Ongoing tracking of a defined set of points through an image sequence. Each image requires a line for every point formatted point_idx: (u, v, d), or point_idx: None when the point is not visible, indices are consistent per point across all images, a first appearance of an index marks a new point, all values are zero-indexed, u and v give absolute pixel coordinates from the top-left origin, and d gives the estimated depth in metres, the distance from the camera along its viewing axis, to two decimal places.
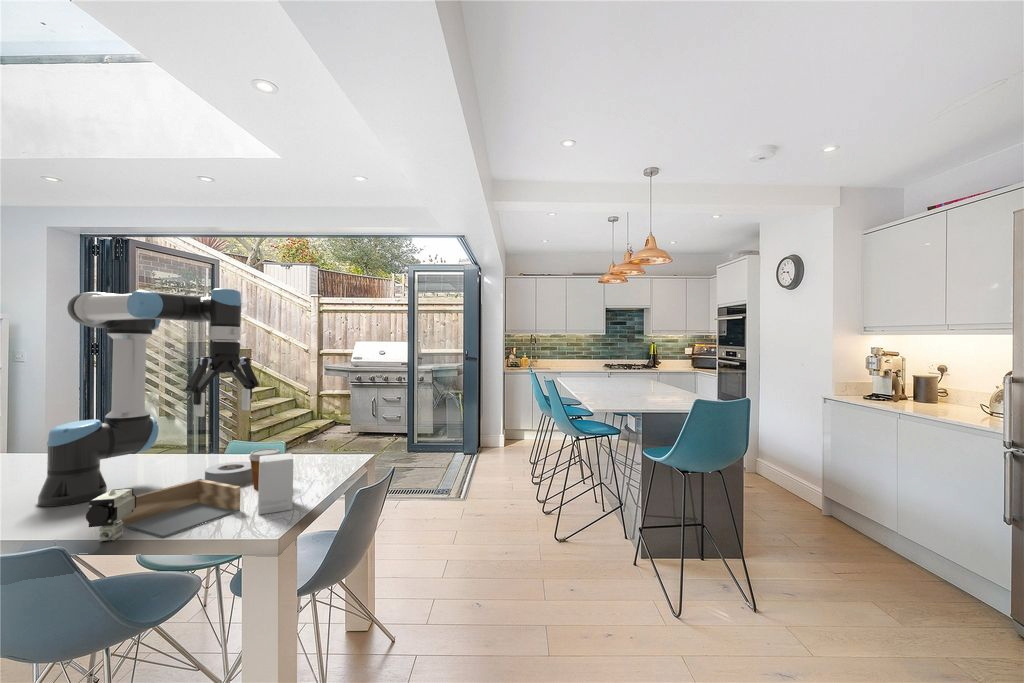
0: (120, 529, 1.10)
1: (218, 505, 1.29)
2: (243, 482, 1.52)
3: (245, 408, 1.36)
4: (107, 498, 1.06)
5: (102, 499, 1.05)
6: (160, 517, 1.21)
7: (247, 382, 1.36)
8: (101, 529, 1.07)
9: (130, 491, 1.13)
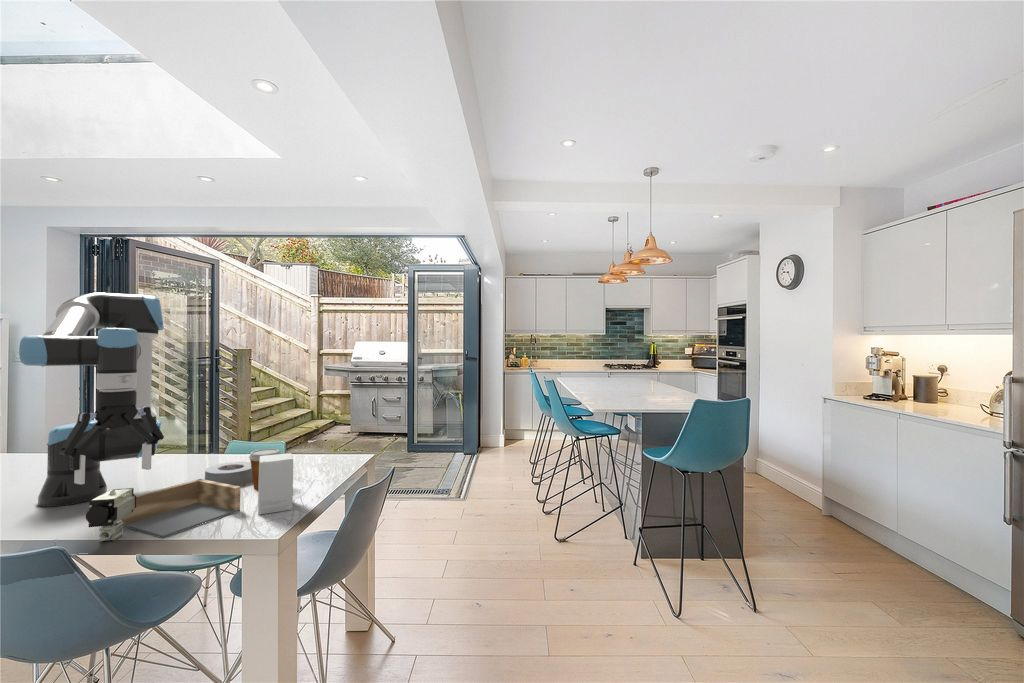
0: (120, 529, 1.10)
1: (218, 505, 1.29)
2: (243, 482, 1.52)
3: (145, 467, 1.15)
4: (107, 498, 1.06)
5: (102, 499, 1.05)
6: (160, 517, 1.21)
7: (147, 436, 1.15)
8: (101, 529, 1.07)
9: (130, 491, 1.13)
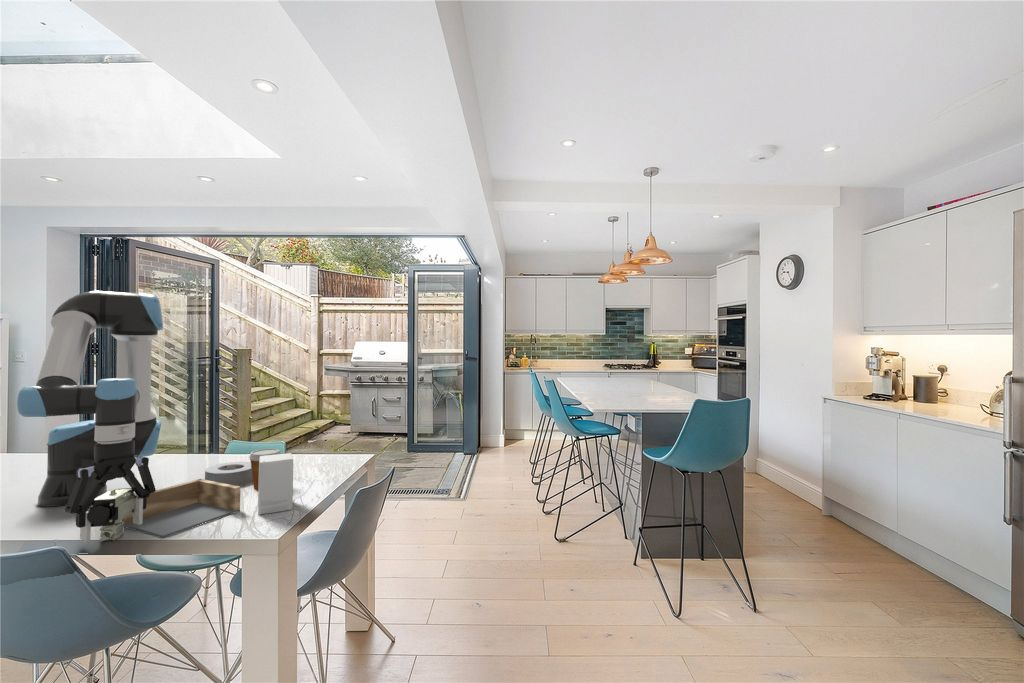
0: (121, 529, 1.10)
1: (218, 505, 1.29)
2: (243, 482, 1.52)
3: (136, 522, 1.13)
4: (108, 498, 1.06)
5: (103, 499, 1.06)
6: (160, 517, 1.21)
7: (140, 489, 1.13)
8: (102, 529, 1.07)
9: (130, 491, 1.13)
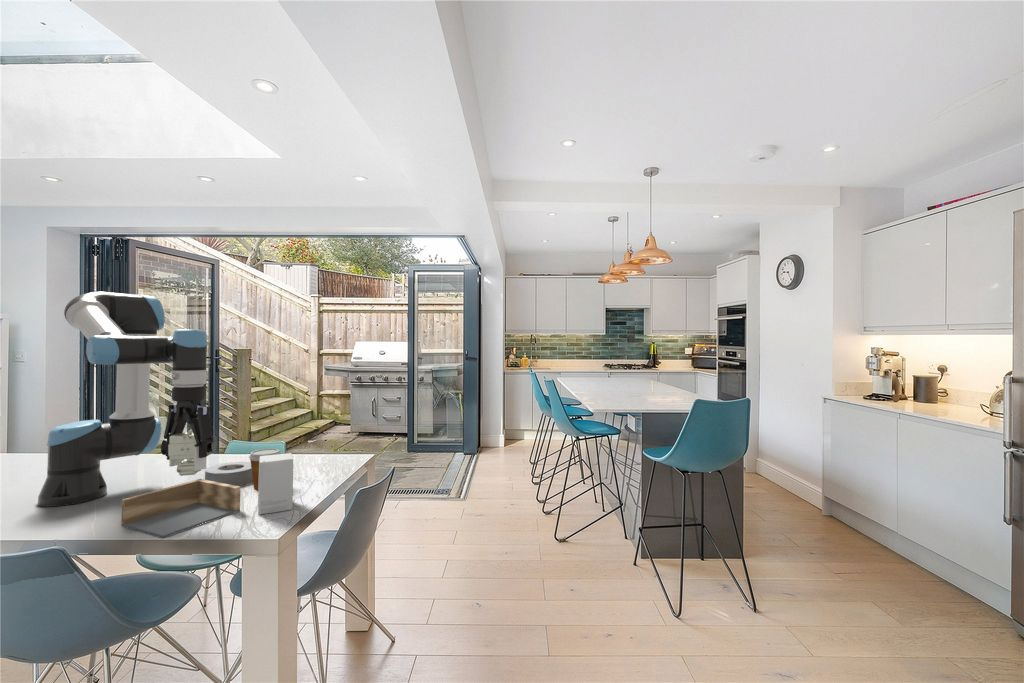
0: (190, 468, 1.19)
1: (218, 505, 1.29)
2: (243, 482, 1.52)
3: None
4: (174, 435, 1.19)
5: (173, 434, 1.20)
6: (160, 517, 1.21)
7: (195, 437, 1.17)
8: None
9: None
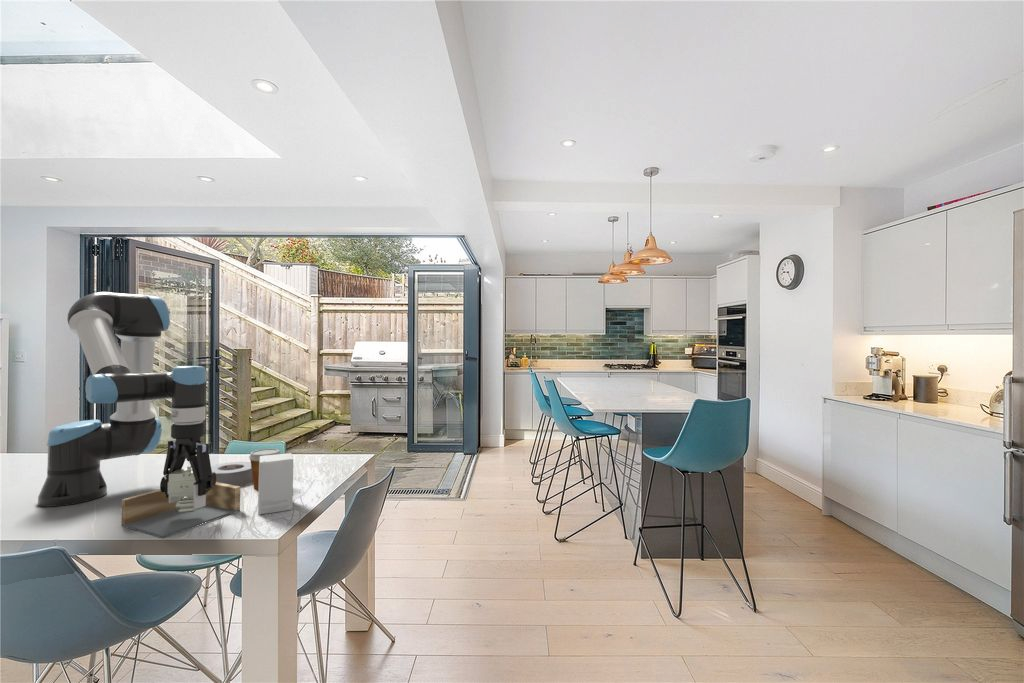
0: (189, 505, 1.19)
1: (218, 505, 1.29)
2: (243, 482, 1.52)
3: None
4: (174, 472, 1.19)
5: (173, 471, 1.20)
6: (160, 517, 1.21)
7: (194, 475, 1.17)
8: (183, 498, 1.21)
9: None
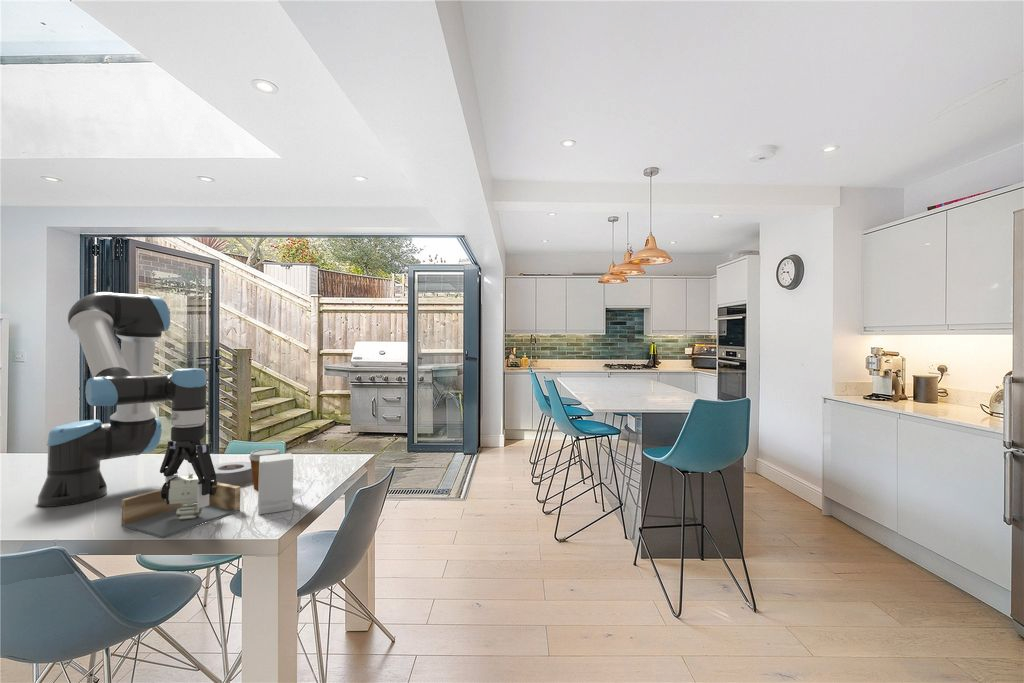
0: (189, 512, 1.19)
1: (218, 505, 1.29)
2: (243, 482, 1.52)
3: None
4: (175, 479, 1.19)
5: (174, 478, 1.20)
6: (160, 517, 1.21)
7: (197, 475, 1.17)
8: (183, 506, 1.21)
9: None
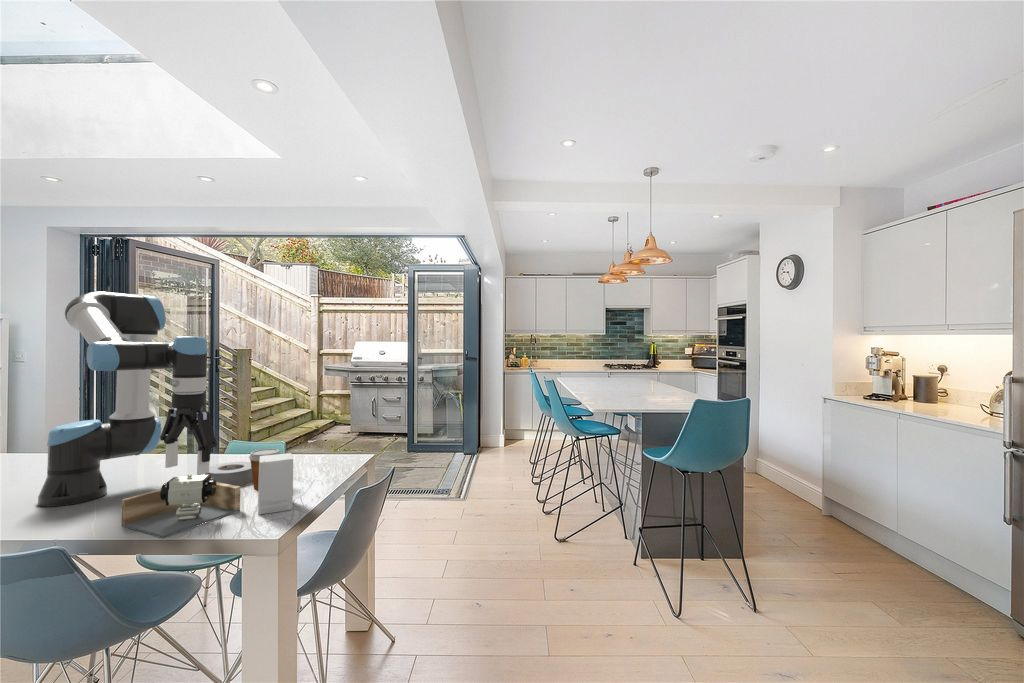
0: (189, 513, 1.19)
1: (218, 505, 1.29)
2: (243, 482, 1.52)
3: None
4: (174, 480, 1.19)
5: (173, 479, 1.19)
6: (160, 517, 1.21)
7: (198, 442, 1.17)
8: (182, 506, 1.21)
9: (199, 481, 1.19)
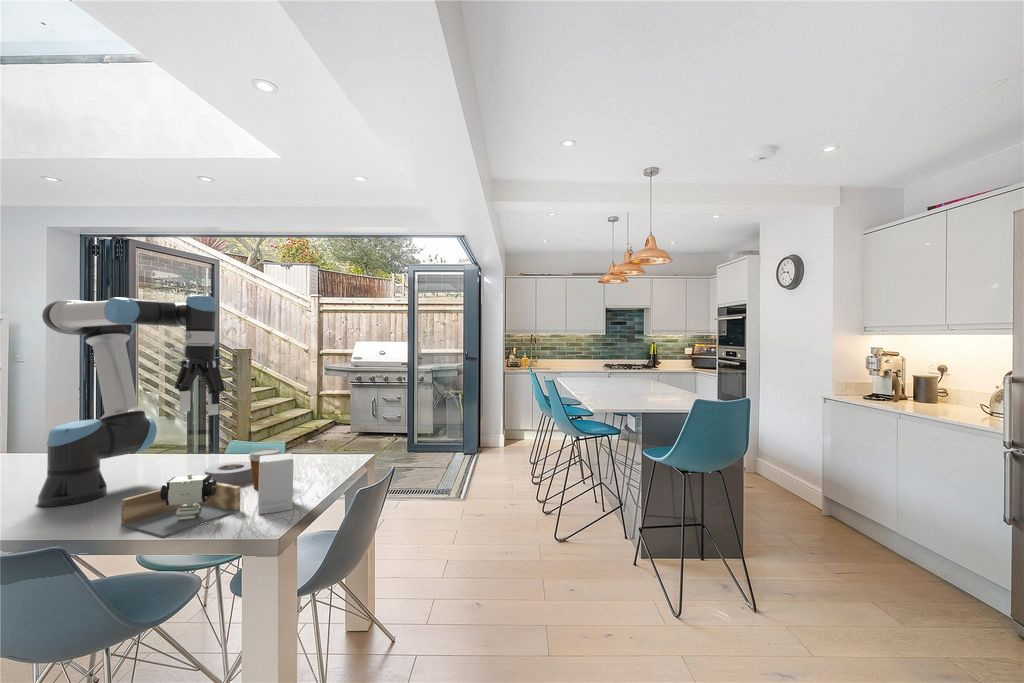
0: (189, 513, 1.19)
1: (218, 505, 1.29)
2: (243, 482, 1.52)
3: None
4: (174, 480, 1.19)
5: (173, 479, 1.20)
6: (160, 517, 1.21)
7: (208, 386, 1.34)
8: (182, 506, 1.21)
9: (199, 481, 1.19)
